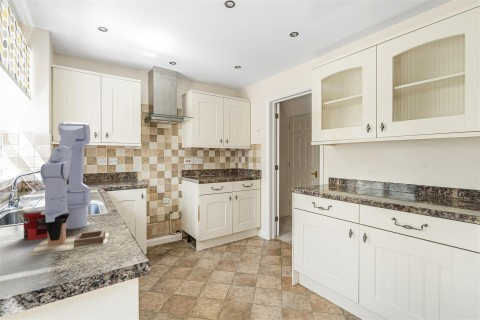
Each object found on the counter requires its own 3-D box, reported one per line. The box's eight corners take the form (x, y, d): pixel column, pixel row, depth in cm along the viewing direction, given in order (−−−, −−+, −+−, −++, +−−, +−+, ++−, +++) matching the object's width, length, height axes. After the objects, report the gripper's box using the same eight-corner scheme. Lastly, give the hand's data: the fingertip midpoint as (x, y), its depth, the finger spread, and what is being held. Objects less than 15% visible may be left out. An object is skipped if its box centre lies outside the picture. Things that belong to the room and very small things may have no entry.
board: (43, 243, 79) (43, 234, 79) (109, 234, 88) (109, 226, 88) (27, 259, 67) (26, 249, 67) (106, 247, 75) (105, 238, 75)
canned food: (30, 236, 86) (29, 207, 85) (56, 234, 88) (55, 205, 88) (19, 244, 78) (18, 212, 78) (47, 241, 81) (46, 210, 81)
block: (51, 241, 78) (51, 224, 78) (66, 239, 80) (65, 222, 80) (47, 245, 74) (47, 227, 74) (62, 243, 76) (62, 225, 76)
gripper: (48, 195, 81) (49, 233, 82) (32, 203, 68) (33, 247, 69) (72, 193, 85) (73, 230, 85) (61, 200, 71) (62, 243, 72)
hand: (57, 237), depth 77 cm, fingers closed on block, 4 cm apart
